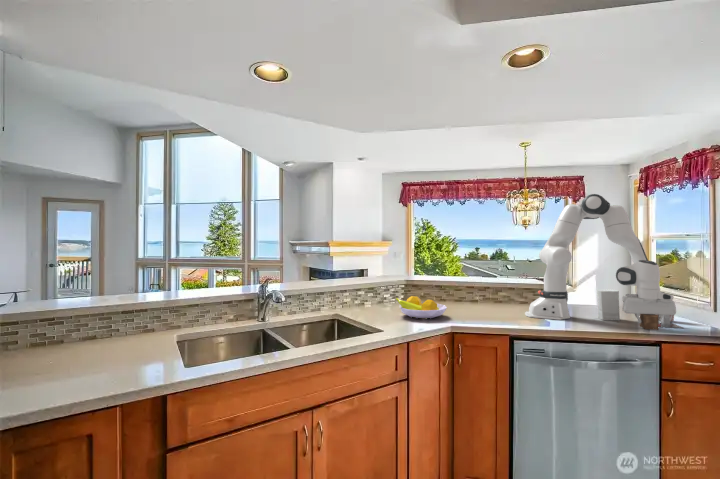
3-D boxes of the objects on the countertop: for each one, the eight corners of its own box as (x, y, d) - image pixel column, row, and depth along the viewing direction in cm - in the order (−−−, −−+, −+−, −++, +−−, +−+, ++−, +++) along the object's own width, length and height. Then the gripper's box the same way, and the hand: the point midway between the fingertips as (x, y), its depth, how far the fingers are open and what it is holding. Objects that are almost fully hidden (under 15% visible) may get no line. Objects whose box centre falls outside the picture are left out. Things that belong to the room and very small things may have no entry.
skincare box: (615, 318, 189) (614, 289, 189) (620, 321, 182) (619, 291, 183) (597, 317, 191) (596, 289, 191) (601, 320, 185) (601, 290, 185)
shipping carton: (644, 329, 166) (644, 314, 166) (639, 326, 171) (639, 312, 171) (658, 329, 164) (657, 315, 164) (652, 327, 169) (652, 313, 169)
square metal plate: (658, 327, 169) (658, 314, 169) (648, 322, 178) (648, 311, 178) (683, 328, 166) (683, 316, 166) (672, 323, 175) (672, 312, 175)
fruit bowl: (442, 312, 211) (442, 293, 211) (449, 322, 184) (449, 300, 184) (395, 311, 214) (395, 293, 214) (395, 321, 187) (395, 300, 187)
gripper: (625, 294, 168) (625, 323, 167) (677, 296, 162) (678, 326, 161) (619, 292, 174) (620, 320, 173) (670, 294, 168) (670, 323, 167)
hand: (648, 323), depth 167 cm, fingers closed on shipping carton, 5 cm apart
